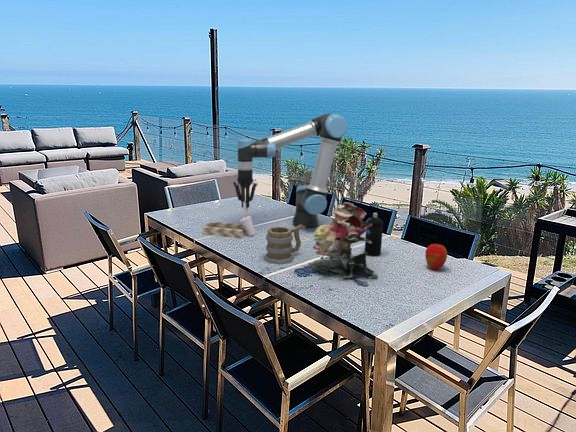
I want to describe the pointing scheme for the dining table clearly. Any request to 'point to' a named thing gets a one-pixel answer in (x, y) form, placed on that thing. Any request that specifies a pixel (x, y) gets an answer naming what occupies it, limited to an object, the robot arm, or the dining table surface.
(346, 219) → the rose bouquet
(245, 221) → the smoothie
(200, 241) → the dining table surface
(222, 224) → the braided bread loaf
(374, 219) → the aerosol can
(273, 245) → the tankard
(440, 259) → the apple
